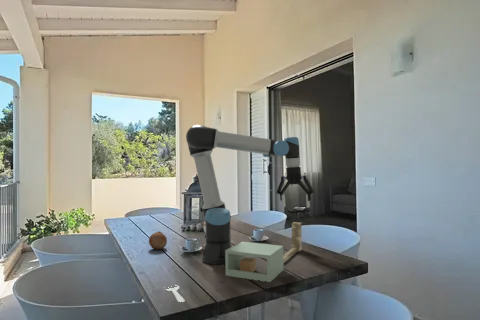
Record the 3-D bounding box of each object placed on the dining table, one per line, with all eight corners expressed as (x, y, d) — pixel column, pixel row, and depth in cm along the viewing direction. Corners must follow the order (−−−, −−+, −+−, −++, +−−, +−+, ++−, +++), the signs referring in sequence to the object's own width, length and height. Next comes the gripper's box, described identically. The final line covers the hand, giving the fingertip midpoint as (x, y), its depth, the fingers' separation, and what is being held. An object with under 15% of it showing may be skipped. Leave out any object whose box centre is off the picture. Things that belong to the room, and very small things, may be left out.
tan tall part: (270, 262, 155) (270, 231, 155) (288, 248, 179) (288, 221, 179) (285, 264, 152) (284, 232, 152) (301, 249, 176) (301, 222, 176)
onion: (158, 252, 184) (160, 234, 189) (169, 250, 179) (171, 231, 183) (143, 249, 177) (146, 230, 182) (155, 247, 172) (157, 228, 177)
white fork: (174, 304, 111) (174, 303, 111) (162, 286, 127) (162, 285, 127) (190, 301, 113) (190, 300, 113) (176, 284, 129) (176, 282, 129)
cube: (240, 272, 142) (239, 260, 142) (245, 268, 146) (244, 257, 146) (250, 274, 139) (250, 261, 139) (255, 270, 144) (255, 258, 144)
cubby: (225, 275, 138) (225, 250, 138) (242, 264, 152) (242, 241, 152) (270, 282, 129) (269, 255, 129) (283, 269, 144) (283, 245, 144)
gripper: (318, 165, 175) (321, 206, 175) (274, 167, 188) (277, 205, 188) (313, 165, 169) (316, 208, 169) (268, 168, 181) (271, 207, 182)
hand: (295, 207), depth 178 cm, fingers open, 13 cm apart
